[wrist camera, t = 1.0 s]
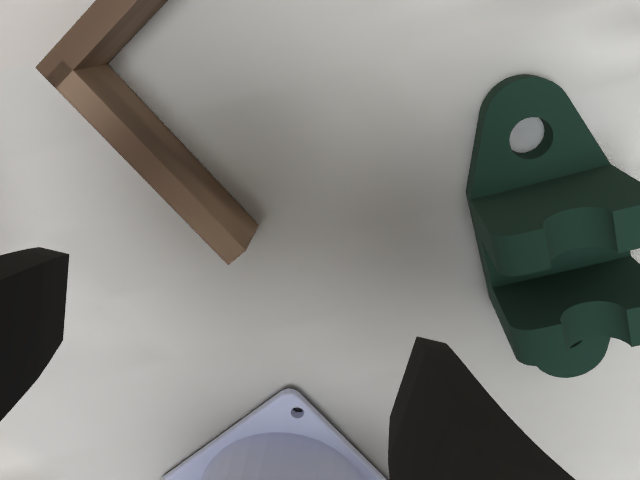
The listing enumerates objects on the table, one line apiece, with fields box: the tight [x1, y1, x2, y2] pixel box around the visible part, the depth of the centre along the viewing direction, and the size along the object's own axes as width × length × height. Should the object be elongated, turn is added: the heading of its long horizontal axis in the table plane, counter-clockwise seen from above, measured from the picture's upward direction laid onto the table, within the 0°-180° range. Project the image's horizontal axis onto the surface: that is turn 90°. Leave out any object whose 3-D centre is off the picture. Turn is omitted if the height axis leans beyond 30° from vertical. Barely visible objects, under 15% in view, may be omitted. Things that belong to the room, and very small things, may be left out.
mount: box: [466, 74, 640, 378], centre depth 19 cm, size 11×4×5 cm, turn 17°
